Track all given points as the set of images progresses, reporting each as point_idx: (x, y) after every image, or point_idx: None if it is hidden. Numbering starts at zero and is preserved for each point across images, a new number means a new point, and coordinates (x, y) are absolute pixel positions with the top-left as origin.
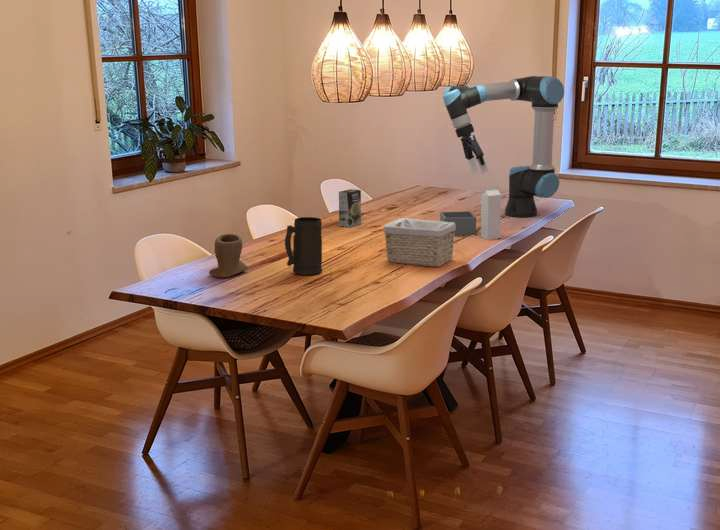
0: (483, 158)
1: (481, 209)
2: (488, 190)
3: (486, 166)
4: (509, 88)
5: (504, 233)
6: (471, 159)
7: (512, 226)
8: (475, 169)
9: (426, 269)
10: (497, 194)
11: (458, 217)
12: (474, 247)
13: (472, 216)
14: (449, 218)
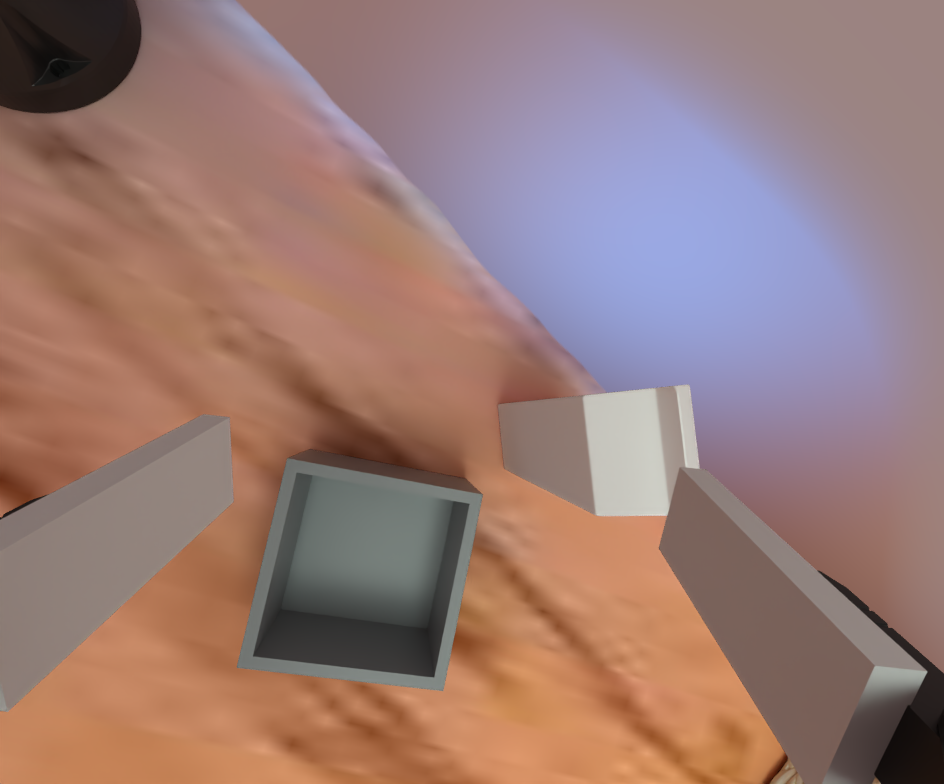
0: (879, 633)
1: (551, 491)
2: (671, 481)
3: (748, 513)
4: None
5: (466, 332)
6: (10, 632)
7: (334, 225)
8: (197, 484)
9: None
10: (690, 413)
11: (288, 533)
12: (666, 564)
13: (417, 493)
14: (449, 658)
